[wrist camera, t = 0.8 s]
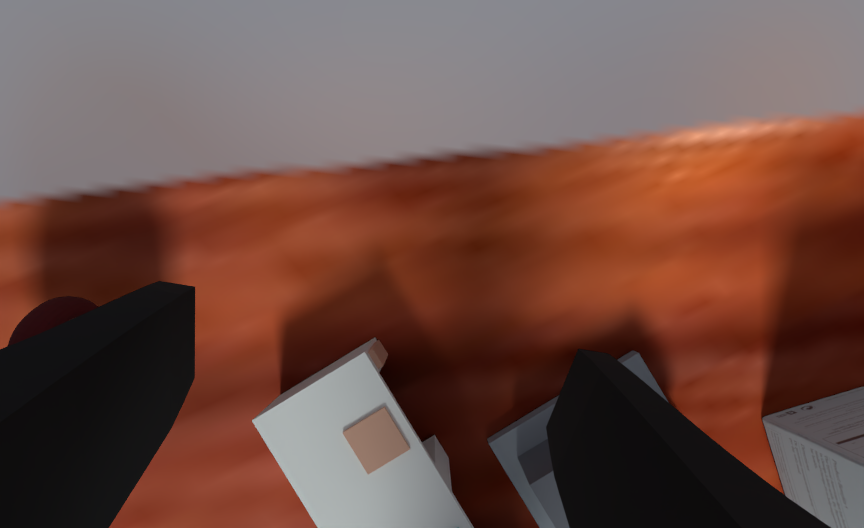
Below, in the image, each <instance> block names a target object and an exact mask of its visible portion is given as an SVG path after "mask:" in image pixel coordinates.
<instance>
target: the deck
mask: <svg viewBox="0 0 864 528" xmlns="http://www.w3.org/2000/svg"><path fill="white" fill-rule="evenodd" d="M618 361H619V362H620V363H622V364H623V365H624V366H625V367H627V368H628V369H629V370H630V371H632V372H633V373H634V374H635V375H637V376H638V377H639V378H640V379H641V380H643V381H644V382H645V383H646V384H647V385H648V386H650V387H651V388H652V389H653V390H654V391H655V392H657V393H658V394H659V395H660V396H661V397H663V398H664V399H665V400H666V401H667V399H666V397H665V396H664V394H663V392H662V391H661V389H660V387H659V386H658V384H657V382H656V381H655V379H654V377H653V376H652V374H651V372H650V371H649V369H648V367H647V366H646V364H645V363H644V361H643V359H642V358H641V356H640V354H639V353H638V352H636V351H634V350H632V351H631V352H629V353H627V354H626V355H624V356H623V357H621V358H619V359H618ZM558 397H559V395H558V396H557V397H555V398H553V399H552V400H550V401H548V402H547V403H545V404H543V405H542V406H540V407H538V408H537V409H535V410H534V411H532V412H530V413H529V414H527V415H525V416H524V417H522V418H520V419H519V420H517V421H515V422H514V423H512V424H510V425H509V426H507V427H506V428H504V429H502V430H501V431H499V432H497V433H496V434H494V435H492V436H491V437H489V438H487V440H488V444H489V445H490V447H491V449H492V450H493V452H494V454H495V455H496V457H497V458H498V460H499V462H500V463H501V465H502V467H503V468H504V470H505V472H506V473H507V475H508V477H509V478H510V480H511V481H512V483H513V485H514V486H515V488H516V490H517V491H518V493H519V495H520V496H521V498H522V499H523V501H524V503H525V504H526V506H527V508H528V509H529V511H530V513H531V514H532V516H533V518H534V519H535V521H536V522H537V524H538V526H539V527H540V528H555V526H554V524H553V523H552V521H551V520H550V518H549V516H548V515H547V513H546V511H545V510H544V508H543V506H542V505H541V503H540V502H539V500H538V498H537V497H536V495H535V493H534V492H533V490H532V488H531V487H530V485H529V483H528V481H527V478H526V476H525V474H524V471H523V469H522V467H521V465H520V462H519V460H518V458H517V457H518V456H520V455H522V454H523V453H525V452H526V451H528V450H530V449H531V448H533V447H535V446H536V445H538V444H540V443H541V442H543V441H545V440H546V439H548V437H547V431H546V426H547V423H548V421H549V419H550V416H551V414H552V411H553V409H554V407H555V404H556V402H557V399H558ZM667 402H668V401H667ZM668 403H669V402H668Z"/></svg>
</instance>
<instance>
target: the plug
mask: <svg viewBox="0 0 864 528" xmlns="http://www.w3.org/2000/svg"><path fill="white" fill-rule="evenodd" d="M517 458H518V460H519V462H520V465H521V467H522V469H523V471H524V474H525V476H526V478H527V481H528V483H529V485H530V487H531V488H532V490H533V492H534V493H535V495H536V497H537V498H538V500H539V502H540V503H541V505H542V506H543V508H544V510H545V511H546V513H547V515H548V516H549V518H550V520H551V521H552V523H553V524H554V526H555V528H570V527H569V524H568V521H567V518H566V514H565V511H564V508H563V504H562V501H561V498H560V495H559V491H558V488H557V484H556V481H555V477H554V473H553V467H552V462H551V456H550V450H549V444H548V439H546V440H545V441H543V442H541V443H540V444H538V445H536V446H535V447H533V448H531V449H530V450H528V451H526V452H525V453H523V454H522V455H520V456H518V457H517Z"/></svg>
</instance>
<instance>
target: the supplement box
mask: <svg viewBox="0 0 864 528" xmlns="http://www.w3.org/2000/svg"><path fill="white" fill-rule="evenodd" d="M762 420H763V424H764V427H765V430H766V433H767V437H768V440H769V444H770V447H771V450H772V453H773V457H774V460H775V463H776V467H777V470H778V473H779V477H780V480H781V483H782V486H783V490H784V493H785V496H786V497H788V498H789V499H790V500H792V501H793V502H795V503H796V504H798V505H799V506H801V507H802V508H803V509H805V510H806V511H808V512H809V513H811V514H812V515H814V516H815V517H816V518H818V519H819V520H821V521H822V522H824V523H825V524H826V525H828V526H829V527H831V528H864V386H863V387H859V388H856V389H853V390H850V391H846V392H842V393H839V394H836V395H833V396H830V397H826V398H823V399H819V400H816V401H813V402H809V403H806V404H803V405H799V406H796V407H793V408H790V409H786V410H783V411H780V412H777V413H773V414H770V415H767V416H765V417H763V418H762Z"/></svg>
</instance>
